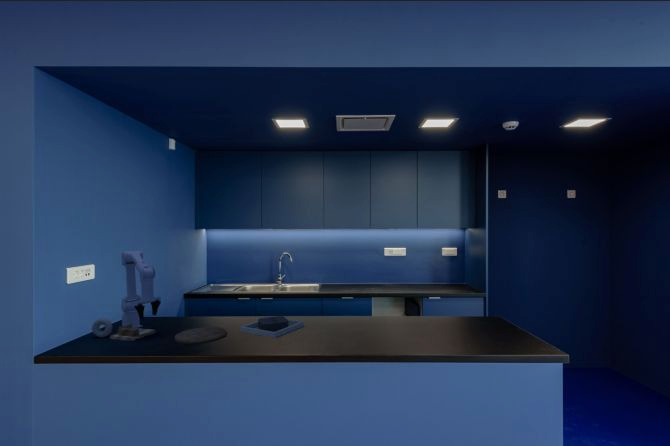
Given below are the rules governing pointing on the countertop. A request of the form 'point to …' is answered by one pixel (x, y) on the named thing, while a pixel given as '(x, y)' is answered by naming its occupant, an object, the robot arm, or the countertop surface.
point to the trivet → (200, 335)
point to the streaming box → (272, 323)
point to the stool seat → (131, 338)
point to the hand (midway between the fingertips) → (148, 316)
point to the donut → (97, 330)
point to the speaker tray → (250, 329)
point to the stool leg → (128, 331)
